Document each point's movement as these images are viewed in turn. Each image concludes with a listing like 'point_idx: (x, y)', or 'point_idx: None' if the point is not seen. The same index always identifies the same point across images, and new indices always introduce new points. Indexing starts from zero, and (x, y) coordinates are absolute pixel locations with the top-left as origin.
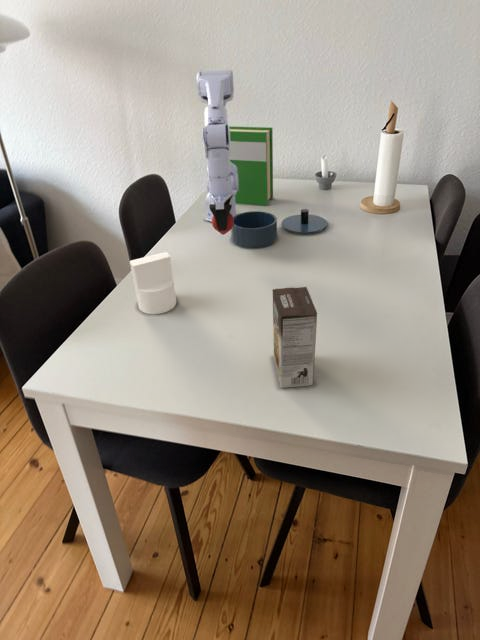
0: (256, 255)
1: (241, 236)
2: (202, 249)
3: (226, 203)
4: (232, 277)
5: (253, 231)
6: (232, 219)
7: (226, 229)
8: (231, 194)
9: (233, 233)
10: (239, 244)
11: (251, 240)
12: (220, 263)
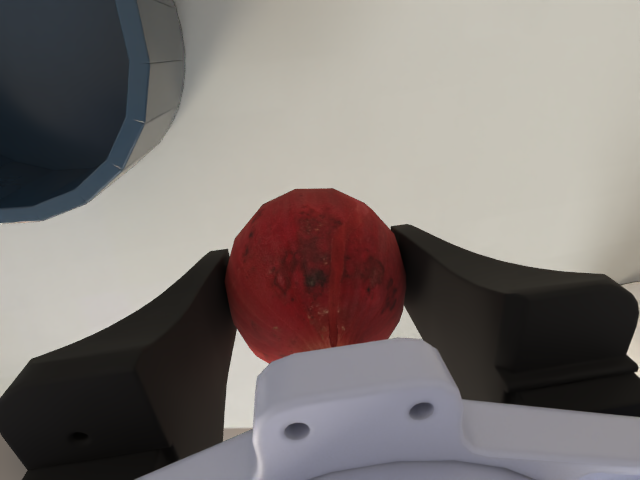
0: (271, 5)
1: (159, 119)
2: None
3: (193, 346)
4: (502, 116)
5: (148, 22)
6: (341, 210)
7: (410, 225)
8: (463, 419)
9: (119, 177)
10: (168, 126)
11: (171, 44)
12: (363, 191)
